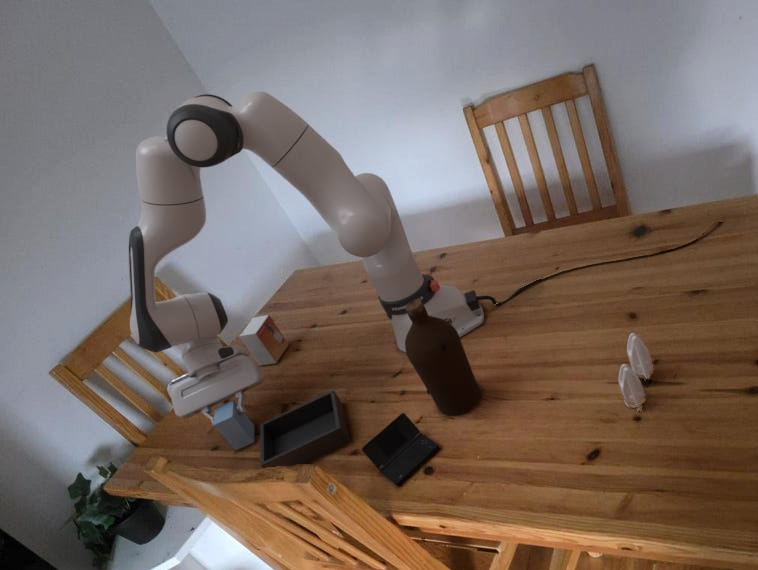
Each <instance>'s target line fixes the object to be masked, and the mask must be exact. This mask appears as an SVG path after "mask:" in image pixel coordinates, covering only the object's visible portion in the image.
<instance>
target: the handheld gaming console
mask: <svg viewBox="0 0 758 570" xmlns="http://www.w3.org/2000/svg"><path fill="white" fill-rule="evenodd" d="M439 450H440V446H439V444H437V443H436V442H435V441H433V440H431V439H430V438H429V437H427V436H425V435H424V434H423V432H421V430H420V429H419V428H418V427H417V426H416V425H415V423H414V422H413V421H412V420H411V419H410V417H408V415H407V414H406V413H405V412H402V413H401V414H399V415H398V416H397V417H396V418H394V420H392V421H391V422H390V423H389V424H388V425H387V426H386V427H384V428H383V429H382V430H381V431H379V433H378V434H376V435H375V436H374V437H372V438H371V440H369V441H368V442H367V443H366V444H365V445H364V446H362V448H361V451H362V453H364V455H365V457H367V458H368V459H369V461H371V463H372V464H373V465H374V466H375V467H376V468H377V470H378V471H379V472H380V474H382V475H383V476H384V477H385V478H387V479H388V480H389V481H390V482H391V483H393V484H394V485H395V486H397V487H400V486H401V485H402V484H403V483H405V482H406V481H407V480H408V479H409V478H410V477H411V476H412V475H413V474H415V472H417V471H418V470H419V468H421V467H422V466H423V465H424V464H425V463H426V462H428V460H430V458H432V457H433V456H434V455H435V454H436V453H437V452H438V451H439Z"/></svg>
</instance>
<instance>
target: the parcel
mask: <svg viewBox="0 0 758 570" xmlns="http://www.w3.org/2000/svg"><path fill="white" fill-rule="evenodd" d="M237 406H238V403H236V402H235V400H231V401H228V402H226V403H224V404H222V405H220V406H218V407H216V408H214V415H213V416H214V426H213V427H214V428H215V429H216V430H217V431H218V433H219V434H221V436H222V437H223V438H224V439H225V440H226V441H227V442H228V444H229V445H230V446H231V447H232V448H233V449H234V450H235V451H238V450H240V449H243V448H244V447H247V446H248V445H251V444H254V443H255V424H254V423H253V422H252V421H251V420H250V419H249V417H248V416H247V415H246V413H243V414H241V415H238V413H237V411H236V409H235V407H237Z"/></svg>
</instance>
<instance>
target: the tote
mask: <svg viewBox="0 0 758 570" xmlns="http://www.w3.org/2000/svg"><path fill="white" fill-rule="evenodd" d="M347 423H348V422H347V418H346V414H345V408H344V404H343V402H342V400H341V399H340V398H339V396H338V394H337V393H336V391H335V390H334V389H332V390H330V391H327V392H325V393H323V394H321V395H319V396H316V397H315V398H313V399H311V400H308V401H306V402H304V403H301V404H299V405H298V406H295V407H293V408H291V409H289V410H287V411H285V412H283V413H281V414H278V415H277V416H275V417H272V418H270V419H268V420H266V421H264V422H261V423H260V424H259V434H260V435H259V439H260V440H259V441H260V442H259V443H260V445H259V446H260V447H259V448H260V449H259V450H260V451H259V452H260V455H259V456H260V457H259V458H260V467H261V468H262V469H263V468H266V467H276V466H287V465H296V464H304V465H306V464H308V463H309V462H312V461H315V460H316V459H318V458H320V457H322V456H324V455H327V454H328V453H331V452H333V451H335V450H337V449H339V448H342V447H344V446H346V445H347V444H350V443H351V439H350V434H349V433H350V432H349V428H348V424H347Z"/></svg>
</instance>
